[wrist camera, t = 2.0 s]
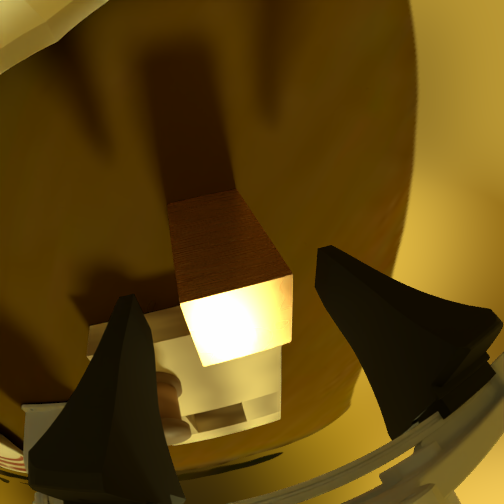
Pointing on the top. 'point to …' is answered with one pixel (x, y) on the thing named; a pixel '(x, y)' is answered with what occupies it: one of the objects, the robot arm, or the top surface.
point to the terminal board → (206, 383)
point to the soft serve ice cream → (37, 25)
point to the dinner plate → (11, 456)
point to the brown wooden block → (229, 278)
